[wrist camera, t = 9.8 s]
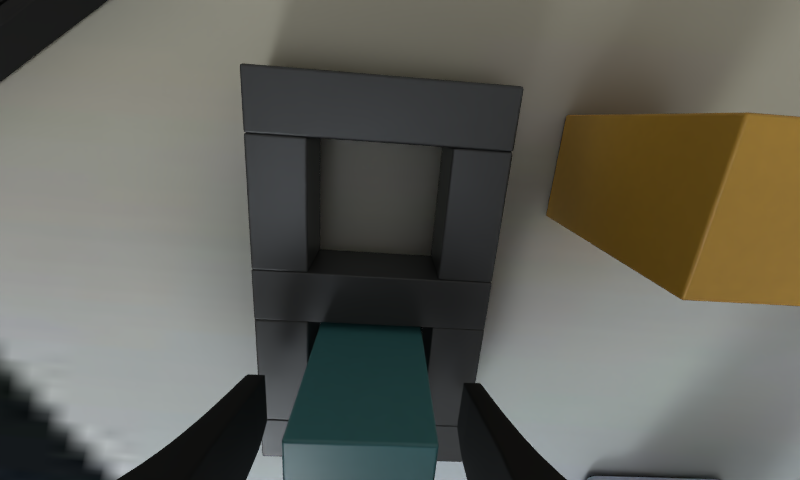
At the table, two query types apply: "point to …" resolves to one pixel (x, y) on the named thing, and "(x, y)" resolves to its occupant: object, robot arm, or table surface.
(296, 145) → the holder
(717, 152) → the ochre peg
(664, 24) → the table surface
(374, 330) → the teal peg
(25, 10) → the vhs tape
